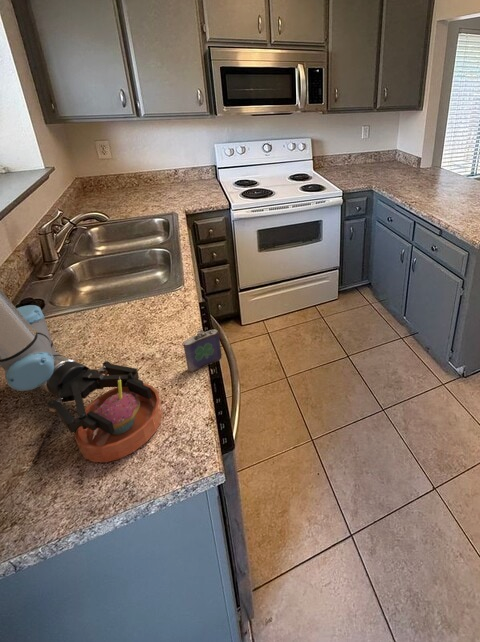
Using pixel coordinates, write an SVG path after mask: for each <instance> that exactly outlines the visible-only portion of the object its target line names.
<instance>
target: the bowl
mask: <svg viewBox="0 0 480 642" xmlns="http://www.w3.org/2000/svg"><path fill="white" fill-rule="evenodd" d="M143 384H144V385H145V386H147V387H149V388H150V391H151V395H152V397H151V398H150V399H147V398H145V397H142V396H140V395H138V394H136V393H134V392H133V393H134V394H135V395H137V397H138V399H139V401H140V407H139V410H138V412H137V413H136V415H135V419H134V423H133V425H132V427H131V428H130V429H129V430H128V431H126V432H124V433H122V434H119V435H114V434H112V435H111V434H109V433H107V432H105V431H104V430H102V429H100V428H97V429H96V430H91V429H89V428H86V429H83V428H82V426H81V427H79V428H78V430H77V431H76V432H74V440H75V443H76V445H77V447H78V450H79V452H80V454H81V455H82V457H83V458H84V459H86V460H88V461H91V462H92V463H108V462H109V463H110V462H112V461H116V460H120V459H122V458H124V457H126V456H128V455H130V454H132V453H134V452H136V451H137V450H138V449H140V448H141V447H142V446H143V445H144V444H146V443H147V442H148V441H149V440H150V439H151V437H152V436H153V435H154V434H155V433H156V431H157V430H158V428H159V426H160V424H161V422H162V417H163V407H162V402H161V398H160V395H159V391H158V390H157V389H156V388H155V387H154V386H153V385H150V384H148V383H144V382H143ZM122 392H131V391H129V389H128V387H122ZM117 393H119V392H118V387H113V388H112V389H109V390H108V391H106V392H104V393H103V394H100V395H99V396H98V397H97V398H95V399H93V401H91V402H90V403H89V404H88V405H87V406H86V407H85V411H86V414H87V413H88V412H89V411H92V412H94V413H96V412H97V410H98V408H99V407H100V405H101V404H103V402H104V401H106V399H108V398H109V397H111V396H112V395H115V394H117Z"/></svg>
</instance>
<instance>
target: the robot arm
mask: <svg viewBox="0 0 480 642" xmlns="http://www.w3.org/2000/svg"><path fill="white" fill-rule="evenodd" d="M0 367H1V368H2V369H3V371H5V380H6V382H7V385H8V386H9V388H11V389H13V390H14V391H19V392H26V391H27V392H28V391H33V390H34V389H38V388H39V389H42V390H44V391H45V392H47V393H48V394H49V393H50V394H51V395H53V396H55V397H56V398H57V399H55V400H50V401H48V402H47V407H48V409H49V412H50V414H52V415H55V416H57V417H58V419H60V420H61V422H62V423H63V424H64V425H65V427H66V428H67V430H69V431H70V433H73V434H74V433H75V432H76V431H77V430H78V428H79V427H81V426H82V428H83V429H86V428H89V429H91V430H96V429H97V428H100V429H102V430H104V431H105V432H107V433H109V434H111V435H112V434H113V433H114V432H115V431H114V427H113V424H112V422H111V421H110V420H108V419H106V418H104V417H102V416H100V415H98V414H96V413H94V412H92V411H89V412H88V413H87V414H86V411H85V409H86V407H85V403H84V399H86V398H87V397H88V396H89V395H90V394H91V393H93V392H95V391H96V390H103V389H104V388H117V387H118V380H119V377H120V380H121V385H122V387H128V389H129V391H131V392H134V393H136V394H138V395H140V396H142V397H145V398H147V399H150V398H151V397H152V395H151V391H150V388H149V387H147V386H145V385H144V384H143V383H144V381H143V380H141V379H140V375H139V372H138V368H136V367H130V366H126V365H125V366H124V365H119V364H113V363H111V362H110V361H108V360H105V361H104V362H102V366H101V367H99V368H98V369H96V368H92V369H91V368H89V367H88V366H87V365H85V364H82V363H80V362H78V361H76V360H74V359H72V358H69V357H67V356H64V355H62V354H60V353H59V352H57V351H56V349H55V345H54V341H53V340H52V337H51V334H50V331H49V328H48V324H47V321H46V317H45V315H44V313H43V311H42V309H41V307H40V306H38V305H35V304H28V305H23V306H20V307H16V306H15V304H14V303H13V302H12V301H11V300H10V299H9V297H8V296H7V295H6V294H5V293H4V292H3V290H2V289H1V288H0ZM73 401H74V403H75V407H76V411H77V416H78V417H76V418H74V416H73V415H72V414H71V413H70V411H69V410H68V409H67V408H66V407H65V405H64V403H67V402H73Z"/></svg>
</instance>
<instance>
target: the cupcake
mask: <svg viewBox="0 0 480 642" xmlns="http://www.w3.org/2000/svg"><path fill="white" fill-rule="evenodd" d="M118 392H119V393H117V394H115V395H112V396H111V397H109V398H108V399H106V401H104V402H103V404H101V405H100V407H99V408H98V410H97V412H96V414H98V415H100V416H102V417H104V418H106V419H108V420H110V421H111V422H112V424H113V427H114V431H115V432H114V433H113V434H114V435H119V434H122V433H124V432H126V431H128V430H129V429H130V428H131V427H132V425H133V423H134V419H135V415H136V413H137V412H138V410H139V407H140V401H139V399H138V397H137V395H135V394H134V393H133V392H122V385H121V380H120V377H119V380H118Z"/></svg>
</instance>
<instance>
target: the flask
mask: <svg viewBox="0 0 480 642" xmlns="http://www.w3.org/2000/svg"><path fill="white" fill-rule="evenodd" d="M195 331H196V332H197V334H195V335H194V336H192V337H190V338H188V339H186V340H184V341H183V343H182V345H183V351H184V356H185V360H186V366H187V371H188V372H189V373H193V372H197V371H198V370H200V369H204V368H206V367H207V366H208V365H212V364H213V363H216V362H219V361H220V360H222V358H223V356H222V355H223V354H222V346H221V339H220V333H219V331H218V330H217V329H209V330H207V331H204V330H203V331H202V328H198V329H197V330H195Z"/></svg>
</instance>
